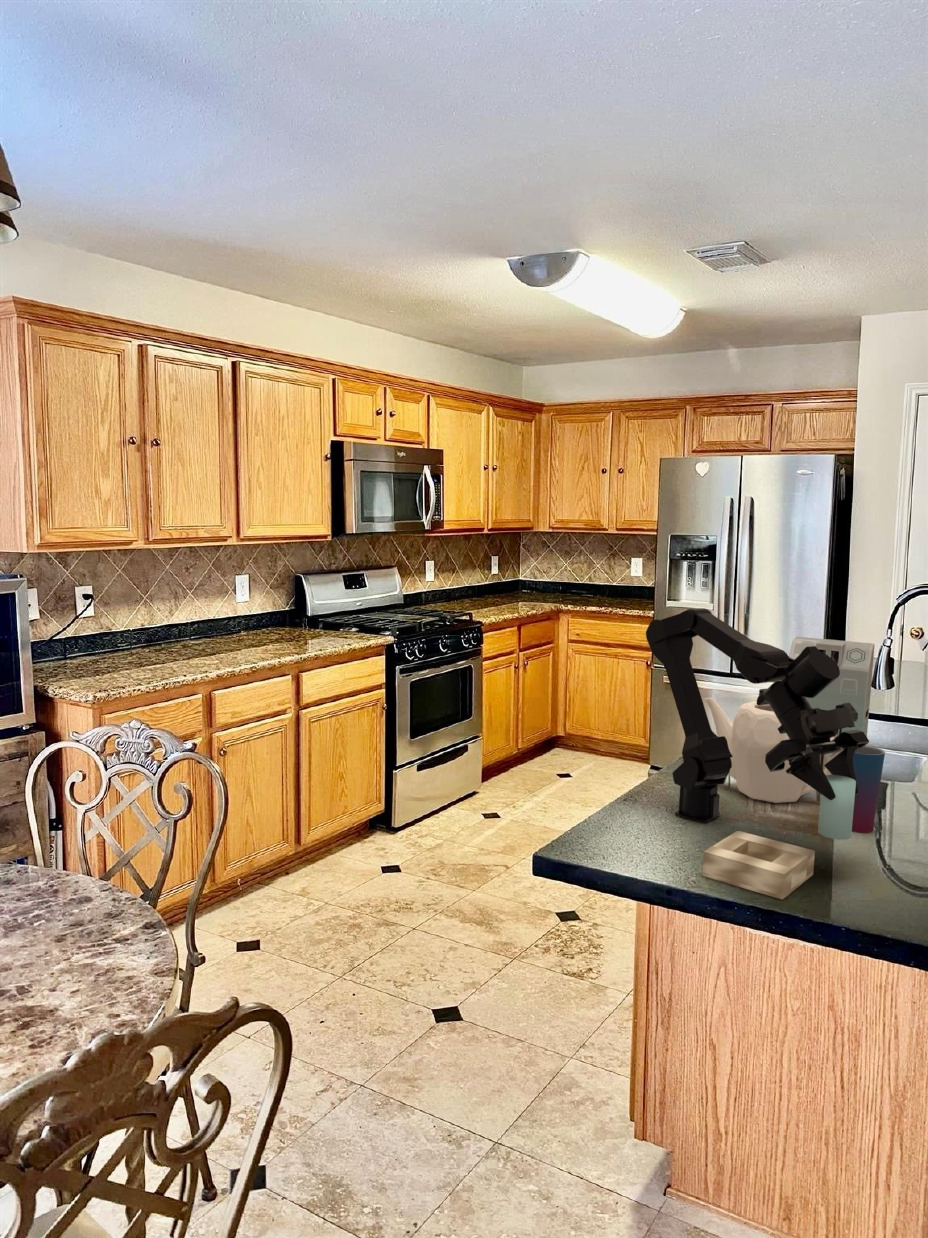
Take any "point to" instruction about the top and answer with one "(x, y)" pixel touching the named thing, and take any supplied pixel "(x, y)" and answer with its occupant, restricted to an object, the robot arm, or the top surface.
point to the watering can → (757, 752)
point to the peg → (837, 809)
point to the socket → (758, 864)
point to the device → (843, 678)
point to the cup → (867, 787)
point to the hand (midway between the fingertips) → (844, 796)
